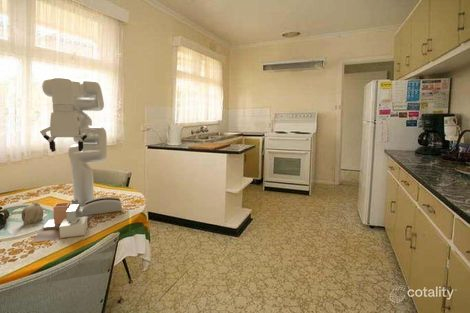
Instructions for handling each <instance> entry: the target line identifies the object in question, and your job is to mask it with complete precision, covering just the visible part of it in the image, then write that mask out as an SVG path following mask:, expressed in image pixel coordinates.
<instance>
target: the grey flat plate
mask: <svg viewBox="0 0 470 313" xmlns="http://www.w3.org/2000/svg"><path fill="white" fill-rule="evenodd" d="M91 220H92V217H91V216H89V219H88V221H87V225H88V226H89V225H90V222H91ZM48 221H49V220H48ZM48 221H46V223H47V222H48ZM46 223H45V224H46ZM45 224H44V225H43V226H42V228H41V229H40V230H39V231H38V232H37V234H36V235H35V236H34V238H33V239H32V240H31V241H30V243H38V242H47V241H55V240H56V241H57V240H64V239H72V238H73V239H74V238H82V237H85V235H81V236H72V237H64V238H60V229H59V228H55V229H45V230H43V227H44V226H45Z"/></svg>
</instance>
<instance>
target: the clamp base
mask: <svg viewBox="0 0 470 313" xmlns="http://www.w3.org/2000/svg"><path fill="white" fill-rule="evenodd" d="M71 204H72V205H73V204H78V200H77V199H74V198H73V199H71V201H70V205H71ZM78 217H87V221H88V219H89V217H90V215H85V206H80V214H79V216H78ZM46 222H47V221H46ZM44 225H45V226H44ZM44 225H43V226H44V227H43V226H42V227H43V230H45V229H55V228H59V226H60V225H61V224H57V225H54V218H52V219H48V222H47V223H45V224H44Z"/></svg>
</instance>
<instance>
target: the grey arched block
mask: <svg viewBox="0 0 470 313" xmlns="http://www.w3.org/2000/svg"><path fill="white" fill-rule="evenodd" d="M95 198H96V199H92V200H89V201H87V202H86V203H85V215H86V216H90V215H91V216H93V215H98V214H106V213H114V212H120V211H121V212H122V211H123V207H122V201H121V199H120V197H116V196H103V197H95Z"/></svg>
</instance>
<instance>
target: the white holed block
mask: <svg viewBox="0 0 470 313" xmlns="http://www.w3.org/2000/svg"><path fill="white" fill-rule="evenodd" d="M88 227H89V225H87V217H78V218H77V223H71V221H69V222H67V218H66V219H64V220H63V222H62V223H61V225H60V226H59V229H60V238H64V237H72V236H81V235H84V236H85V234H86V232H87V230H88Z"/></svg>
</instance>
